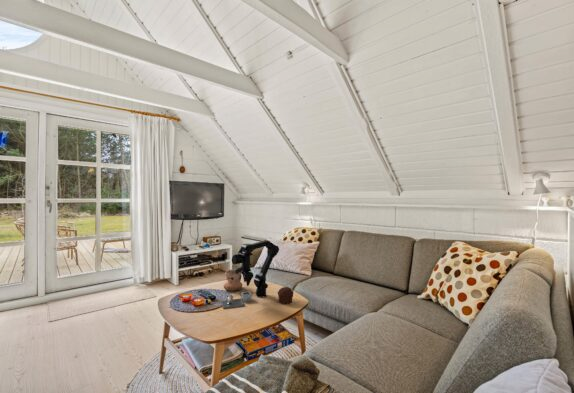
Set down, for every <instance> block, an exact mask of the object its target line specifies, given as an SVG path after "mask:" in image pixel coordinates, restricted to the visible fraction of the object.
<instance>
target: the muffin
mask: <svg viewBox="0 0 574 393" xmlns="http://www.w3.org/2000/svg"><path fill="white" fill-rule="evenodd" d="M277 294H278V295H277V297H278V302H279V303H281V305H290V303H291V304H292V303H293V297H294V291H293V289H292V288H290V287H288V286H283V287H281V288H280V289H278V291H277Z"/></svg>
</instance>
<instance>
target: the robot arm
mask: <svg viewBox="0 0 574 393" xmlns="http://www.w3.org/2000/svg"><path fill="white" fill-rule="evenodd" d="M264 247H265V248H266V249H267V250H266V255H267V256H266V257H265V260H264V262H263V265H262V267H261V268H260V271H259V273H258V274H257V273H256V274H255V276H254V273H253V272H252V269H251V265H252V264H251V256H253V255H254V254H253V253H252V252H253V251H255V250H257V249H261V248H264ZM279 251H280V247H279V246H278V245H276V244H274V243H273V242H271V241H270V240H267V239H264V240H261V241H257V242H254V243H242V244H241V247H240V248H239V251H238V252H237V253H235V254H233V255H232V257H231V263H232V264H233V265H238V264H239V266H236V267H234V268H233V270H234V271H235V273H236V274H238V273H240V272H241V275H242V279H243V283H246V286H247V287H249V286H250V283H251V282H252V279H253V283H254V285H255V287H256V289H255V291H256V293H255V296H257V298H264V297H268V295H267V289H268V288H269V285H268V283H267V282H266V281H267V273H268V271H269V269H270V267H271V264H272V262H273V259H274V257H277V255H278V253H279Z"/></svg>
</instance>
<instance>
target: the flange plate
mask: <svg viewBox="0 0 574 393" xmlns="http://www.w3.org/2000/svg"><path fill="white" fill-rule="evenodd" d="M220 303H221V306H222V310H225V309H233V308H241V307H245V302H243V301H242V300H241V297H240V298H234V299H232V296H228V297H227V300H221V301H220Z"/></svg>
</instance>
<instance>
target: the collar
mask: <svg viewBox="0 0 574 393" xmlns="http://www.w3.org/2000/svg"><path fill="white" fill-rule="evenodd" d="M240 296H241V297H240V298H241V300H242V301H243V303H249V302H252V293H251V292H250V291H249V290H248V291H241V293H240Z"/></svg>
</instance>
